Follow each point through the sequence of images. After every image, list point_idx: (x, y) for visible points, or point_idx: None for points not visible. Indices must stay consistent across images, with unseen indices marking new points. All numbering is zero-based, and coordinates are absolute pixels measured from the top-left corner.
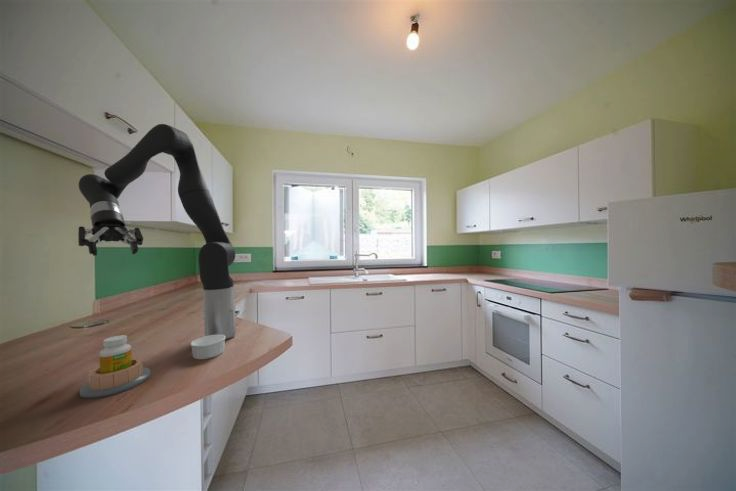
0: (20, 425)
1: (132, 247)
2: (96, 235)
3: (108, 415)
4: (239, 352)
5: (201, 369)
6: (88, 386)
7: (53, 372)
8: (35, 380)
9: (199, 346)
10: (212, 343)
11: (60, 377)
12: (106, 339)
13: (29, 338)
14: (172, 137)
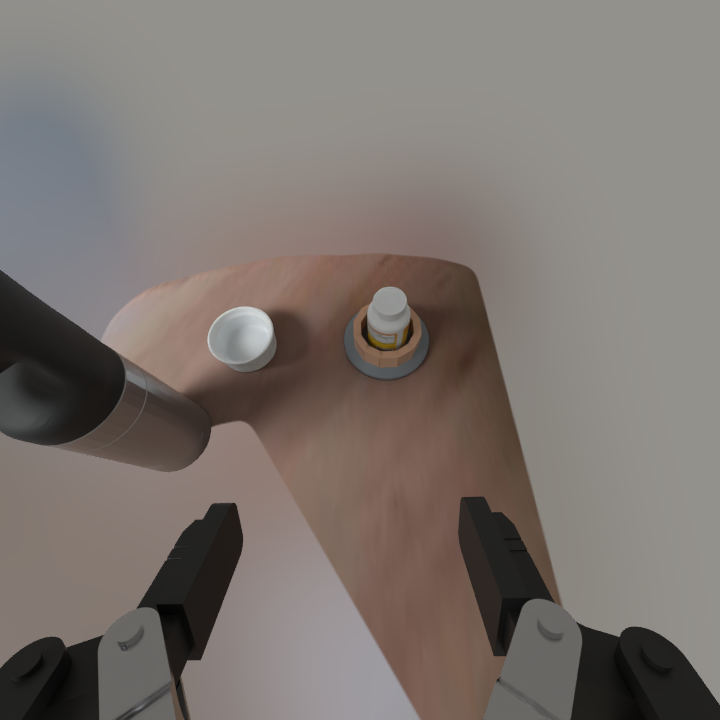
0: (475, 307)
1: (222, 529)
2: (532, 710)
3: (401, 259)
4: (218, 309)
5: (290, 293)
6: (419, 343)
7: None
8: (495, 483)
9: (267, 315)
10: (247, 307)
11: (459, 457)
12: (402, 302)
13: None
14: None
